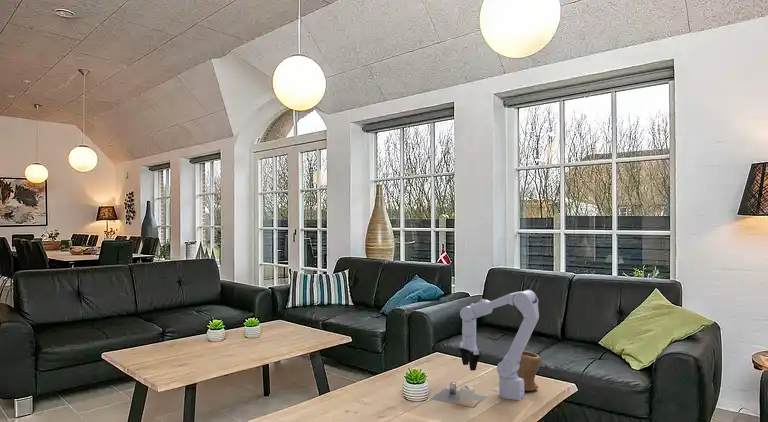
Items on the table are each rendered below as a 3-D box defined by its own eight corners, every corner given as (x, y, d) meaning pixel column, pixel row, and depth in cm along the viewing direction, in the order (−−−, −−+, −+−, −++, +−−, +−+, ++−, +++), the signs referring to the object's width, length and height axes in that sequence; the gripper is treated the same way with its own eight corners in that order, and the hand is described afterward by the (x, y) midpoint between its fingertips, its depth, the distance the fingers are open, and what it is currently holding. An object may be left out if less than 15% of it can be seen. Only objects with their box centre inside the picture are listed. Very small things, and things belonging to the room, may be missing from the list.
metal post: (457, 392, 206) (457, 382, 206) (454, 394, 204) (454, 384, 204) (451, 391, 207) (451, 381, 207) (448, 393, 205) (448, 383, 205)
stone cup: (546, 390, 212) (546, 354, 212) (521, 394, 208) (521, 357, 208) (524, 379, 226) (524, 345, 226) (501, 382, 222) (501, 348, 222)
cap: (475, 403, 193) (475, 388, 193) (463, 405, 192) (463, 390, 192) (470, 399, 198) (470, 384, 198) (458, 400, 197) (458, 385, 197)
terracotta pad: (479, 401, 196) (479, 401, 196) (472, 407, 190) (472, 406, 190) (462, 398, 200) (462, 397, 200) (455, 404, 194) (455, 403, 194)
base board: (486, 399, 202) (486, 396, 202) (473, 411, 190) (473, 408, 190) (445, 391, 211) (445, 388, 211) (430, 401, 199) (430, 398, 199)
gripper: (453, 331, 219) (453, 363, 219) (467, 339, 205) (467, 373, 205) (469, 330, 221) (469, 362, 220) (483, 338, 206) (483, 372, 206)
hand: (469, 367), depth 213 cm, fingers open, 7 cm apart
